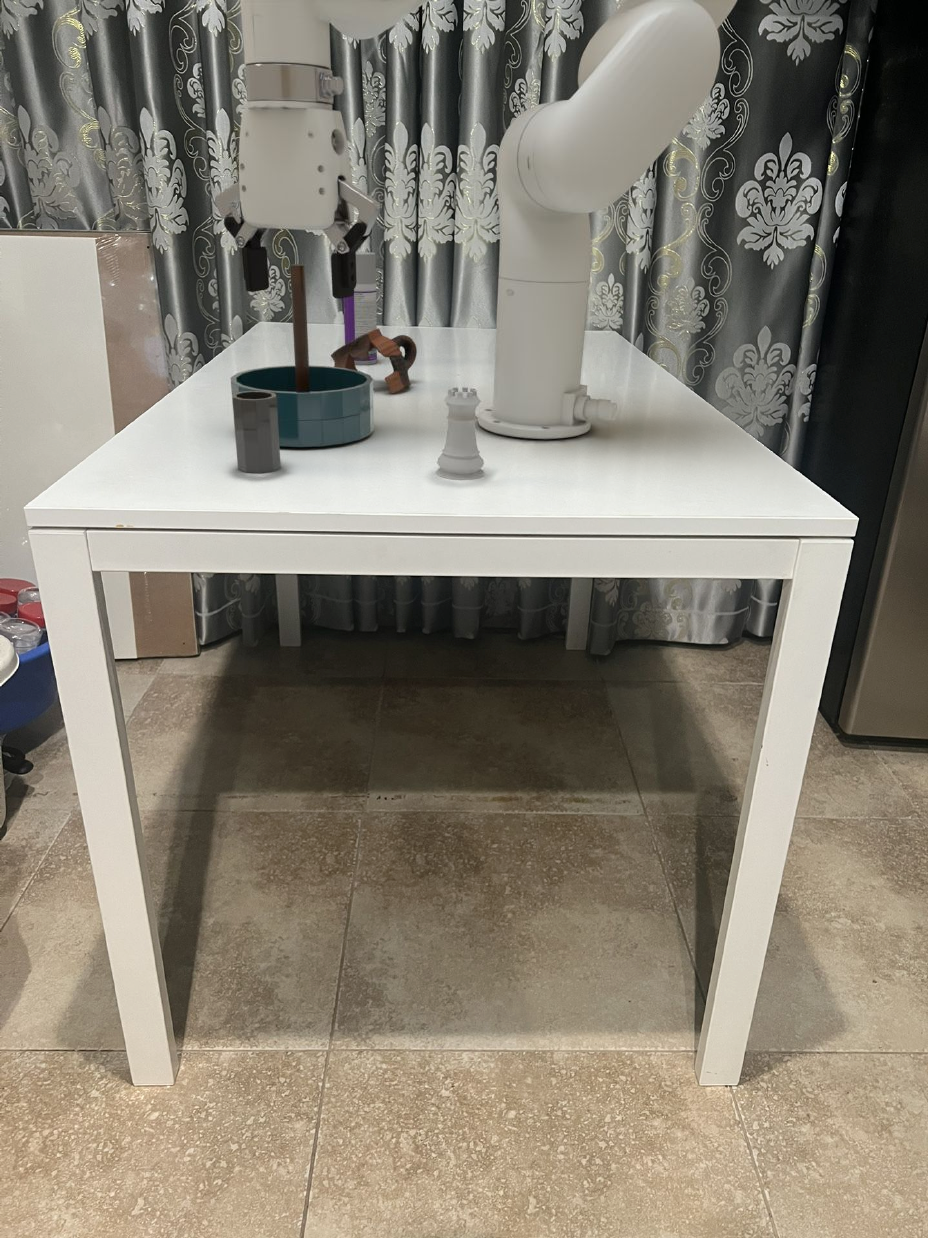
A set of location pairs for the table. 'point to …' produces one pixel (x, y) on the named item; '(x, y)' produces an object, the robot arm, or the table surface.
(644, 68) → the robot arm
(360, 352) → the brown twisted loop sculpture
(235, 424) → the utensil cup
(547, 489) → the table surface
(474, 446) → the rook chess piece
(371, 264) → the container
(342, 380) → the bowl
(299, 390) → the stick
